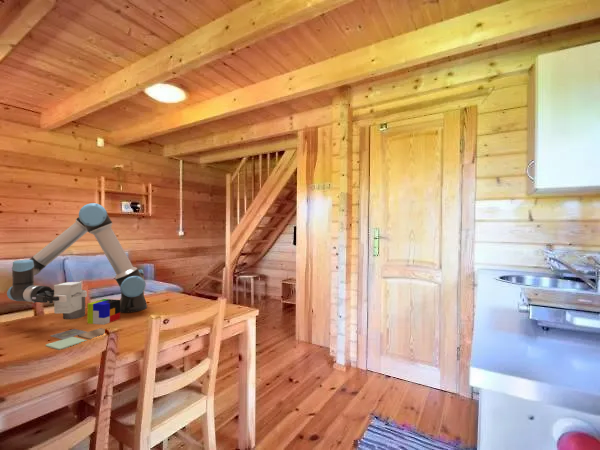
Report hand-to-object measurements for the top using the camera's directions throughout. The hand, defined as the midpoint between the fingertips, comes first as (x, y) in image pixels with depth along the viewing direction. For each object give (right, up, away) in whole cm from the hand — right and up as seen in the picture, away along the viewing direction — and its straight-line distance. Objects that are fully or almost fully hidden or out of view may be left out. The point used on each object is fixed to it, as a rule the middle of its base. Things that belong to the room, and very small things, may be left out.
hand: (76, 296), depth 135 cm
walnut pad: (+8, -17, +1) cm, 19 cm away
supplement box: (-4, -7, +1) cm, 9 cm away
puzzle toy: (-1, -18, +21) cm, 27 cm away
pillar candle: (-22, -18, +28) cm, 40 cm away
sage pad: (+3, -17, -10) cm, 20 cm away
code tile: (-4, -17, +1) cm, 18 cm away
